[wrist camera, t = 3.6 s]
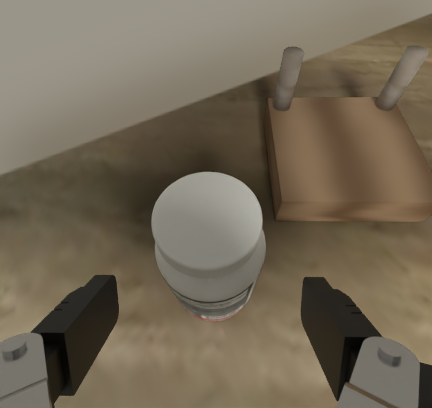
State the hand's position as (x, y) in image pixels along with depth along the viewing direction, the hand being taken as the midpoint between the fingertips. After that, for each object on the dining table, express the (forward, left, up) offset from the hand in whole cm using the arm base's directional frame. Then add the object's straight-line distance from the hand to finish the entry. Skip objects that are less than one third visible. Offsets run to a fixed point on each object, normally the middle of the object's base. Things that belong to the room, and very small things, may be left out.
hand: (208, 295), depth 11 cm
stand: (-11, -14, -8) cm, 19 cm away
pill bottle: (0, -3, -8) cm, 9 cm away
